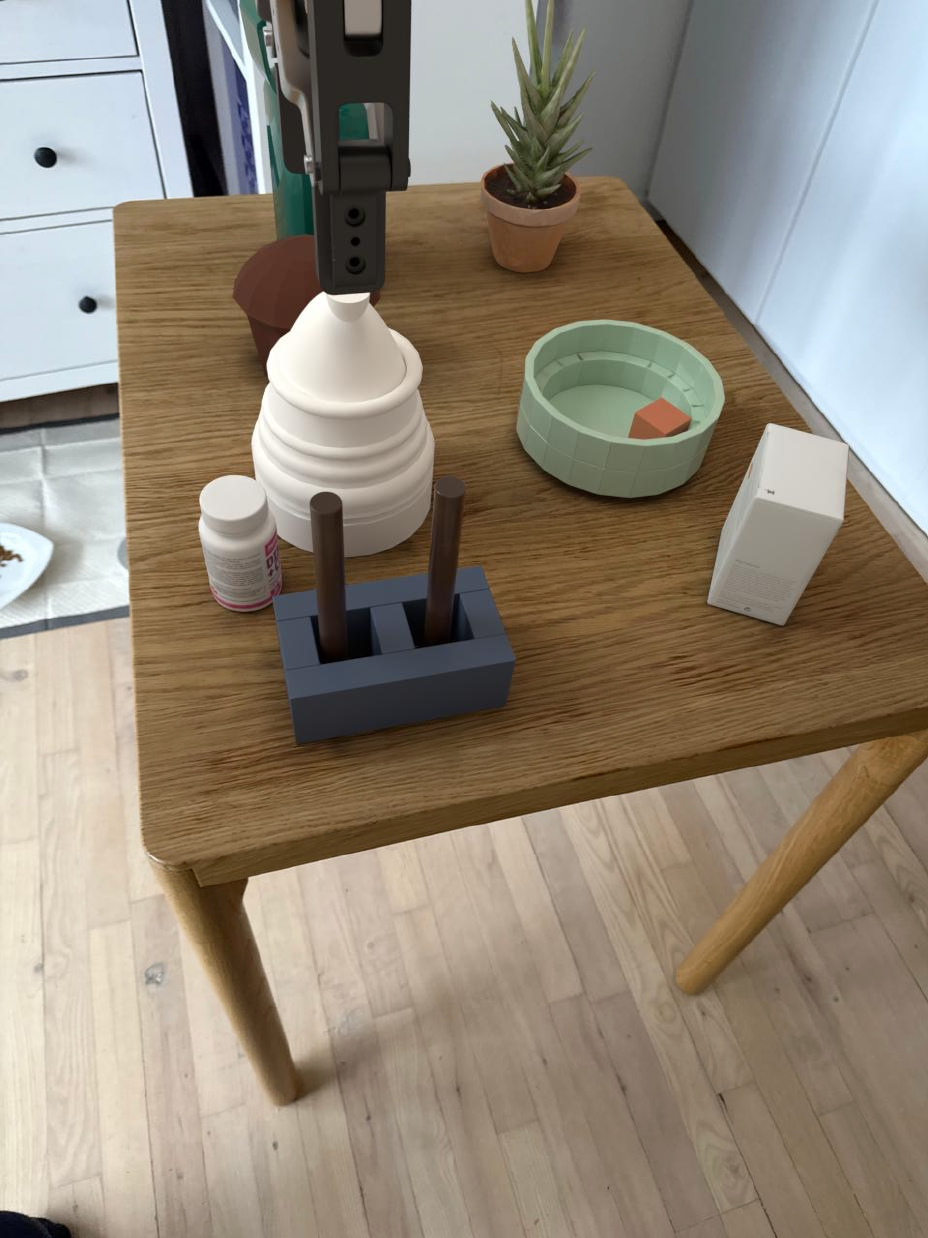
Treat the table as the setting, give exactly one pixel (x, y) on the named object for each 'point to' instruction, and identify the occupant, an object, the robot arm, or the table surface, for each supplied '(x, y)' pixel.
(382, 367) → the honey pot
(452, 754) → the table surface
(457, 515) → the brown wooden peg
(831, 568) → the table surface
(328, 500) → the brown rod
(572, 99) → the potted plant
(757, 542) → the small box
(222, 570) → the pill bottle
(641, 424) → the block
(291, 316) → the muffin
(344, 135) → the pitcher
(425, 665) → the stand
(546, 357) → the bowl
